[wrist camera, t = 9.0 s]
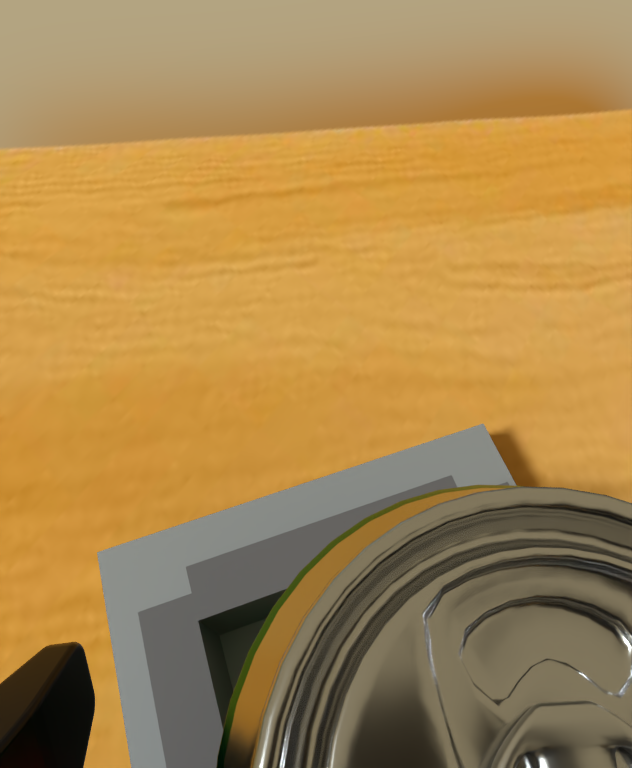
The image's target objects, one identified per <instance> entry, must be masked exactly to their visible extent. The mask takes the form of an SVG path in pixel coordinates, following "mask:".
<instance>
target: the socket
mask: <svg viewBox="0 0 632 768" xmlns="http://www.w3.org/2000/svg"><path fill="white" fill-rule="evenodd" d="M472 485H511V486H517V485H516V483H515V482H514V480H513V478H512V476H511V474H510V472H509V470H508V469H507V467H506V465H505V463H504V461H503V459H502V457H501V456H500V454H499V452H498V450H497V448H496V446H495V444H494V443H493V441H492V439H491V437H490V435H489V433H488V431H487V430H486V428H485V426H484V424H481V425H478V426H475V427H472V428H469V429H466V430H463V431H460V432H457V433H454V434H451V435H448V436H445V437H442V438H439V439H436V440H433V441H430V442H427V443H424V444H421V445H418V446H415V447H412V448H409V449H406V450H403V451H400V452H397V453H394V454H391V455H388V456H385V457H382V458H379V459H376V460H373V461H370V462H367V463H364V464H361V465H358V466H355V467H352V468H349V469H346V470H343V471H340V472H337V473H334V474H331V475H328V476H325V477H322V478H319V479H316V480H313V481H310V482H307V483H304V484H301V485H298V486H295V487H292V488H289V489H286V490H283V491H280V492H277V493H274V494H271V495H268V496H265V497H262V498H259V499H256V500H253V501H250V502H247V503H244V504H241V505H238V506H235V507H232V508H229V509H226V510H223V511H220V512H217V513H214V514H211V515H208V516H205V517H202V518H199V519H196V520H193V521H190V522H187V523H184V524H181V525H178V526H175V527H172V528H169V529H166V530H163V531H160V532H157V533H154V534H151V535H148V536H145V537H142V538H139V539H136V540H133V541H130V542H127V543H124V544H121V545H118V546H115V547H112V548H109V549H106V550H103V551H100V552H97V555H98V561H99V567H100V574H101V580H102V586H103V592H104V599H105V605H106V611H107V617H108V624H109V630H110V636H111V643H112V649H113V655H114V661H115V668H116V674H117V680H118V686H119V693H120V699H121V705H122V712H123V718H124V724H125V730H126V737H127V743H128V749H129V755H130V762H131V768H216V767H217V756H218V752H219V747H220V743H221V738H222V734H223V730H224V725H225V721H226V716H227V712H228V708H229V703H230V699H231V697H232V694H233V691H234V689H235V686H236V683H237V681H238V678H239V675H240V673H241V670H242V667H243V665H244V662H245V660H246V657H247V654H248V652H249V650H250V648H251V646H252V644H253V642H254V640H255V639H256V637H257V635H258V633H259V631H260V629H261V628H262V626H263V624H264V622H265V620H266V618H267V617H268V615H269V613H270V611H271V609H272V608H273V606H274V605H275V604H276V602H277V601H278V600H279V598H280V597H281V596H282V594H283V593H284V592H285V591H286V589H287V588H288V587H289V585H290V584H291V583H292V581H293V580H294V579H295V577H296V576H297V575H298V573H299V572H300V571H301V570H302V569H303V568H304V567H305V566H306V565H307V564H308V563H309V562H310V561H311V560H312V559H313V558H315V557H316V556H317V555H318V554H319V553H320V552H321V551H322V550H323V549H324V548H325V547H326V546H327V545H328V544H329V543H330V542H331V541H333V540H334V539H335V538H337V537H338V536H340V535H341V534H343V533H344V532H346V531H347V530H348V529H350V528H351V527H353V526H354V525H356V524H357V523H359V522H360V521H361V520H363V519H364V518H366V517H368V516H370V515H372V514H374V513H377V512H379V511H381V510H383V509H385V508H387V507H389V506H391V505H393V504H395V503H397V502H400V501H402V500H406V499H409V498H412V497H416V496H419V495H423V494H426V493H429V492H433V491H436V490H441V489H448V488H456V487H464V486H472Z"/></svg>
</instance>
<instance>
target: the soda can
mask: <svg viewBox="0 0 632 768" xmlns="http://www.w3.org/2000/svg"><path fill="white" fill-rule="evenodd" d="M216 768H632V503H629V502H626V501H623V500H619V499H616V498H613V497H610V496H607V495H601V494H596V493H590V492H584V491H578V490H572V489H566V488H550V487H523V486H511V485H472V486H464V487H456V488H448V489H441V490H436V491H433V492H429V493H426V494H423V495H419V496H416V497H412V498H409V499H406V500H402V501H400V502H397V503H395V504H393V505H391V506H389V507H387V508H385V509H383V510H381V511H379V512H377V513H374V514H372V515H370V516H368V517H366V518H364V519H363V520H361V521H360V522H359V523H357V524H356V525H354V526H353V527H351V528H350V529H348V530H347V531H346V532H344V533H343V534H341V535H340V536H338V537H337V538H335V539H334V540H333V541H331V542H330V543H329V544H328V545H327V546H326V547H325V548H324V549H323V550H322V551H321V552H320V553H319V554H318V555H317V556H316V557H315V558H313V559H312V560H311V561H310V562H309V563H308V564H307V565H306V566H305V567H304V568H303V569H302V570H301V571H300V572H299V573H298V575H297V576H296V577H295V579H294V580H293V581H292V583H291V584H290V585H289V587H288V588H287V589H286V591H285V592H284V593H283V594H282V596H281V597H280V598H279V600H278V601H277V602H276V604H275V605H274V606H273V608H272V609H271V611H270V613H269V615H268V617H267V618H266V620H265V622H264V624H263V626H262V628H261V629H260V631H259V633H258V635H257V637H256V639H255V640H254V642H253V644H252V646H251V648H250V650H249V652H248V654H247V657H246V660H245V662H244V665H243V667H242V670H241V673H240V675H239V678H238V681H237V683H236V686H235V689H234V691H233V694H232V697H231V699H230V703H229V708H228V712H227V716H226V721H225V725H224V730H223V734H222V738H221V743H220V747H219V752H218V756H217V767H216Z"/></svg>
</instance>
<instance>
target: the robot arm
mask: <svg viewBox="0 0 632 768" xmlns="http://www.w3.org/2000/svg"><path fill="white" fill-rule="evenodd" d="M94 710H95V694H94V689H93V685H92V681H91V677H90V673H89V668H88V664H87V660H86V656H85V652H84V649H83V647H82V646H81V644H79V643H77V642H70V643H62V644H54V645H49V646H46V647H45V648H43V649H42V650H41V651H39V652H38V653H37V654H36V655H35V656H33V657H32V658H31V659H30V660H28V661H27V662H26V663H25V664H24V665H22V666H21V667H20V668H19V669H18V670H16V671H15V672H14V673H13V674H12V675H10V676H9V677H8V678H7V679H5V680H4V681H3V682H2V683H1V684H0V768H83V766H84V761H85V756H86V751H87V746H88V741H89V736H90V731H91V726H92V721H93V716H94Z"/></svg>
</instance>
